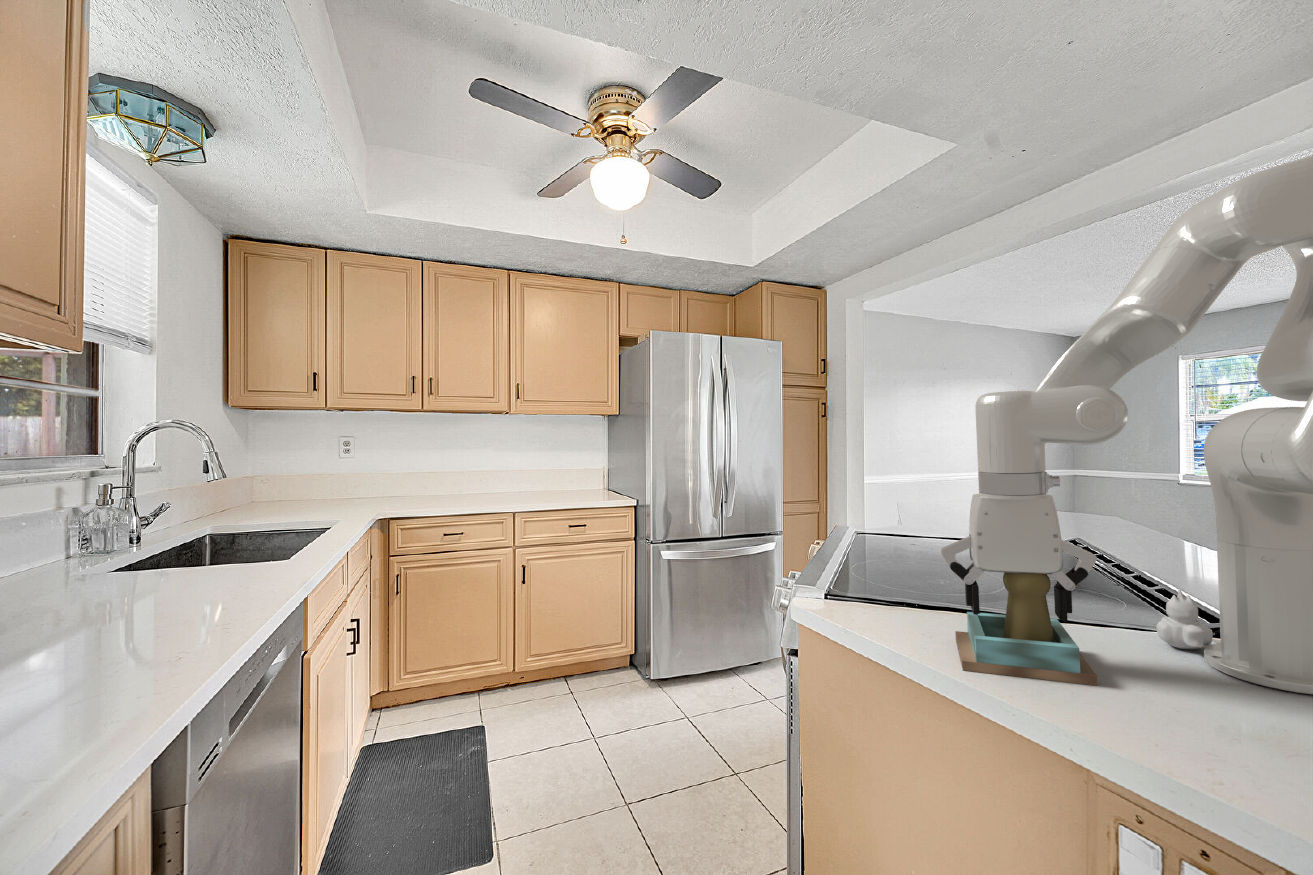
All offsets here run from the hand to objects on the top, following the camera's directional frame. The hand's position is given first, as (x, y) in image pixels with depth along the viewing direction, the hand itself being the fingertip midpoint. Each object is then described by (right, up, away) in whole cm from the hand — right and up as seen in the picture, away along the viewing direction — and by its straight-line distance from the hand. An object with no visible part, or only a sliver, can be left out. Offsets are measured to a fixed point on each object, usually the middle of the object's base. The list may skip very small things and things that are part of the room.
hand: (1017, 614), depth 74 cm
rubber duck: (+23, -5, +1) cm, 24 cm away
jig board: (0, -6, 0) cm, 6 cm away
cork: (+1, -5, 0) cm, 5 cm away
